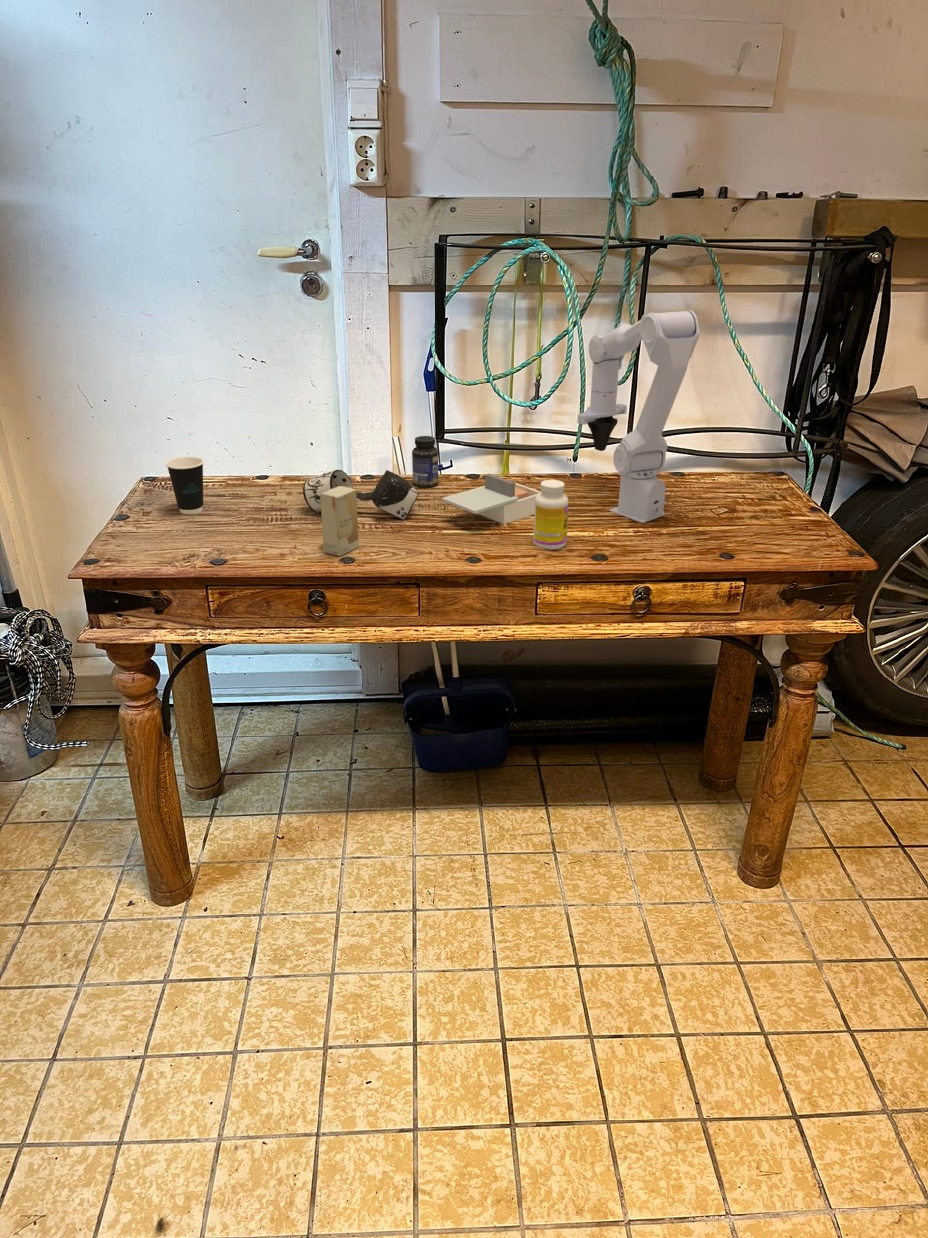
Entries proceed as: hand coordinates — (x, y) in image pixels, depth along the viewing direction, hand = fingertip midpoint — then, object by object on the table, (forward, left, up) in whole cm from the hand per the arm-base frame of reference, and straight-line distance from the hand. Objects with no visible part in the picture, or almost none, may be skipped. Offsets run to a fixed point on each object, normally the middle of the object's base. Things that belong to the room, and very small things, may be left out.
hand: (600, 449), depth 216 cm
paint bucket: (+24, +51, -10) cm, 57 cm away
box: (+2, +27, -9) cm, 29 cm away
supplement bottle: (-16, +33, -10) cm, 38 cm away
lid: (+2, +35, -5) cm, 36 cm away
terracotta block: (+2, +25, -9) cm, 27 cm away
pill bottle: (+29, +28, -10) cm, 41 cm away
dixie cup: (+49, +78, -10) cm, 93 cm away
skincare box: (+9, +66, -10) cm, 67 cm away
